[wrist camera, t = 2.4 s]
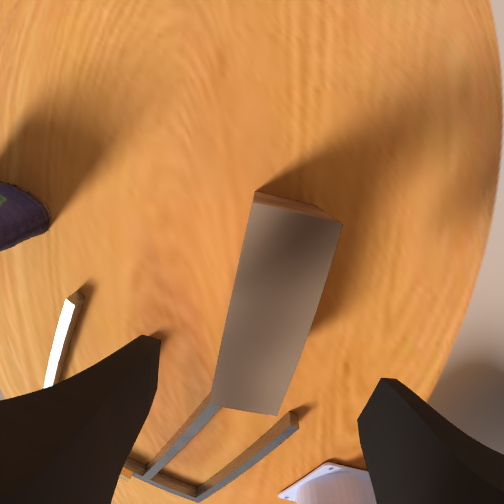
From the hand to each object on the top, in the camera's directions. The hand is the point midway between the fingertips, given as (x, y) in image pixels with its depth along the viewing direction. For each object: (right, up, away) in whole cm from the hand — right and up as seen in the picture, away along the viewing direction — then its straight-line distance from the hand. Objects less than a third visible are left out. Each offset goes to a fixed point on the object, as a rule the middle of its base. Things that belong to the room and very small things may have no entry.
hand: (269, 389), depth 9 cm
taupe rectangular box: (0, +3, +10) cm, 10 cm away
